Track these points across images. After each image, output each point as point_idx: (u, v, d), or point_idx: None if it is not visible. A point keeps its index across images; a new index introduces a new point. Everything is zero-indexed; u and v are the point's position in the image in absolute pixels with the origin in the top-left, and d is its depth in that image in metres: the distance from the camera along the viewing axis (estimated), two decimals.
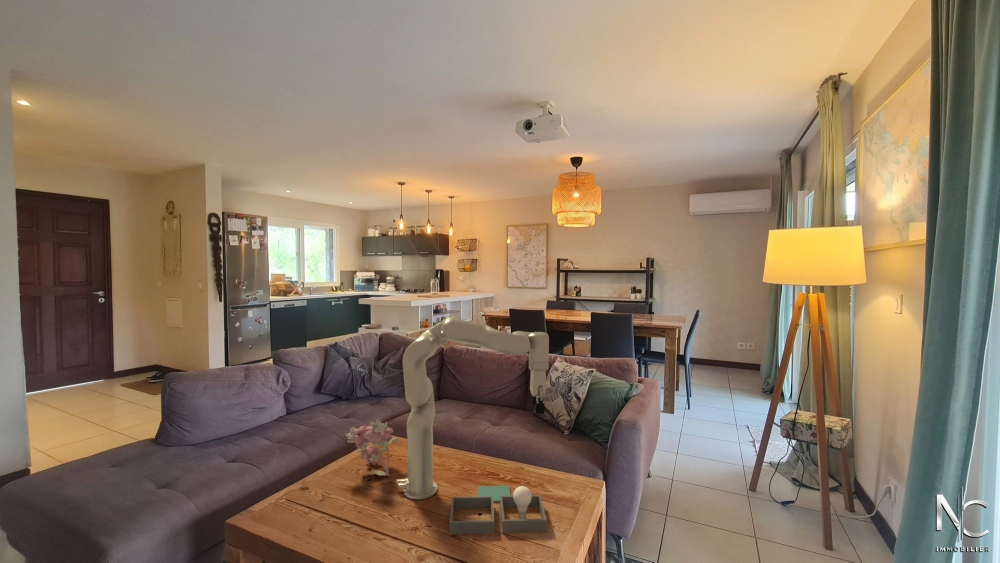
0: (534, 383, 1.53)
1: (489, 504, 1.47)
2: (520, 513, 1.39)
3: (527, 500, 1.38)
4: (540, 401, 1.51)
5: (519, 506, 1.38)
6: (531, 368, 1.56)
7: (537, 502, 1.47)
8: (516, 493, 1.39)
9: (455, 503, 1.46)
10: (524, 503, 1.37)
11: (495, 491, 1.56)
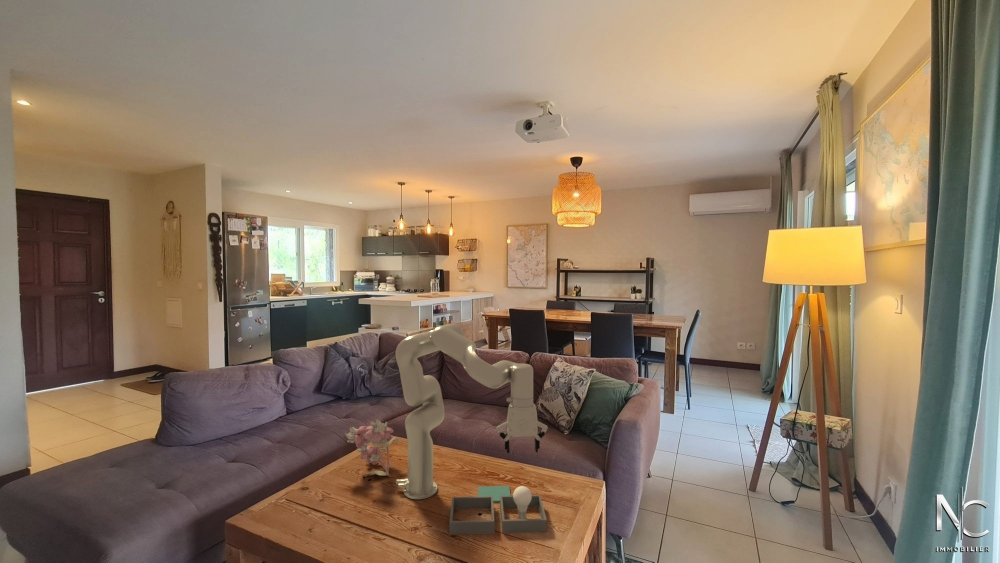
0: (536, 420, 1.37)
1: (489, 504, 1.47)
2: (520, 513, 1.39)
3: (527, 500, 1.38)
4: None
5: (519, 506, 1.38)
6: (529, 406, 1.36)
7: (537, 502, 1.47)
8: (516, 493, 1.39)
9: (455, 503, 1.46)
10: (524, 503, 1.37)
11: (495, 491, 1.56)
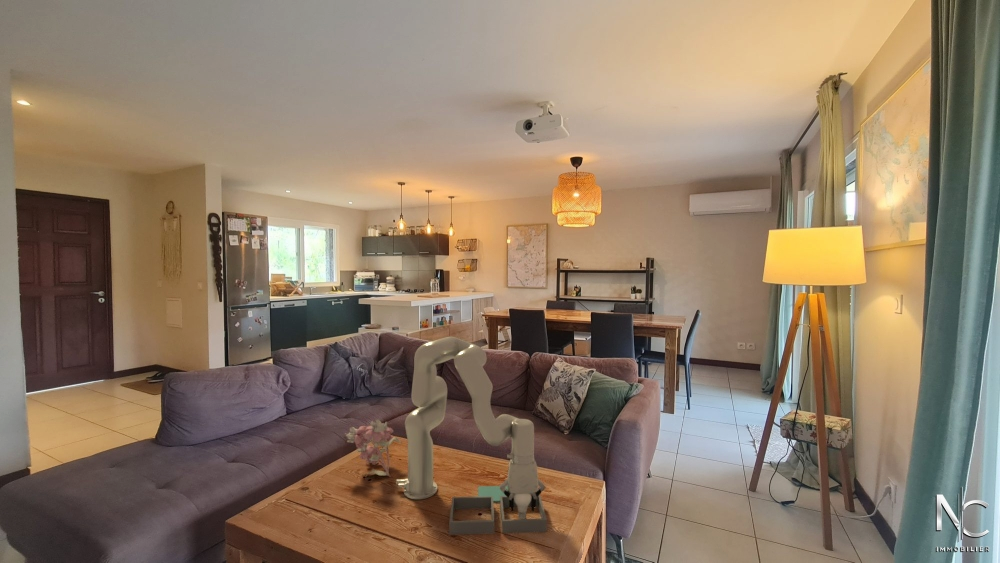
0: (537, 477, 1.38)
1: (489, 504, 1.47)
2: (520, 513, 1.39)
3: (527, 500, 1.38)
4: None
5: (519, 506, 1.38)
6: (530, 463, 1.37)
7: (537, 502, 1.47)
8: None
9: (455, 503, 1.46)
10: (524, 503, 1.37)
11: (495, 491, 1.56)
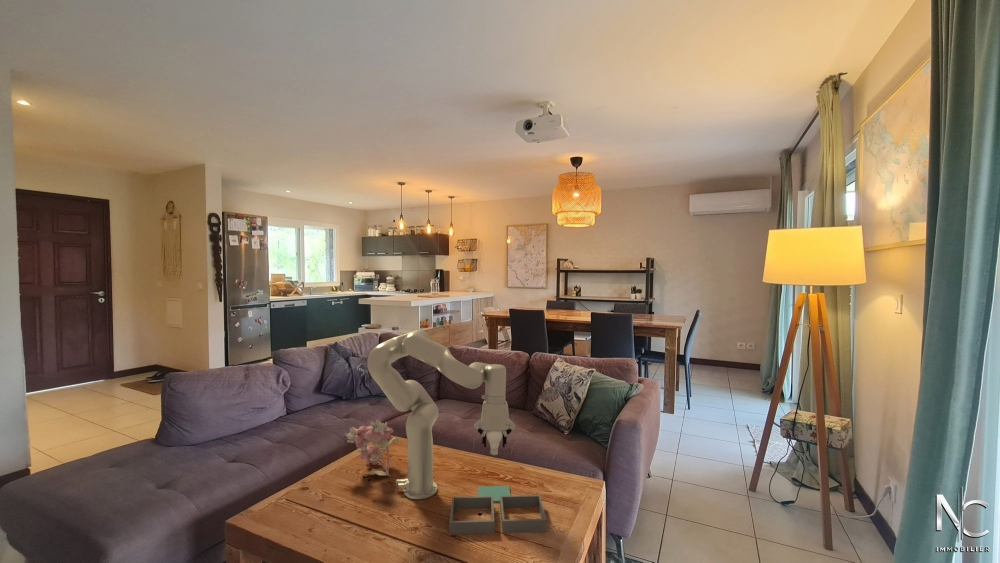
0: (507, 416, 1.51)
1: (489, 504, 1.47)
2: (492, 449, 1.53)
3: (498, 437, 1.51)
4: None
5: (491, 442, 1.52)
6: (501, 403, 1.50)
7: (537, 502, 1.47)
8: None
9: (455, 503, 1.46)
10: (495, 439, 1.51)
11: (495, 491, 1.56)
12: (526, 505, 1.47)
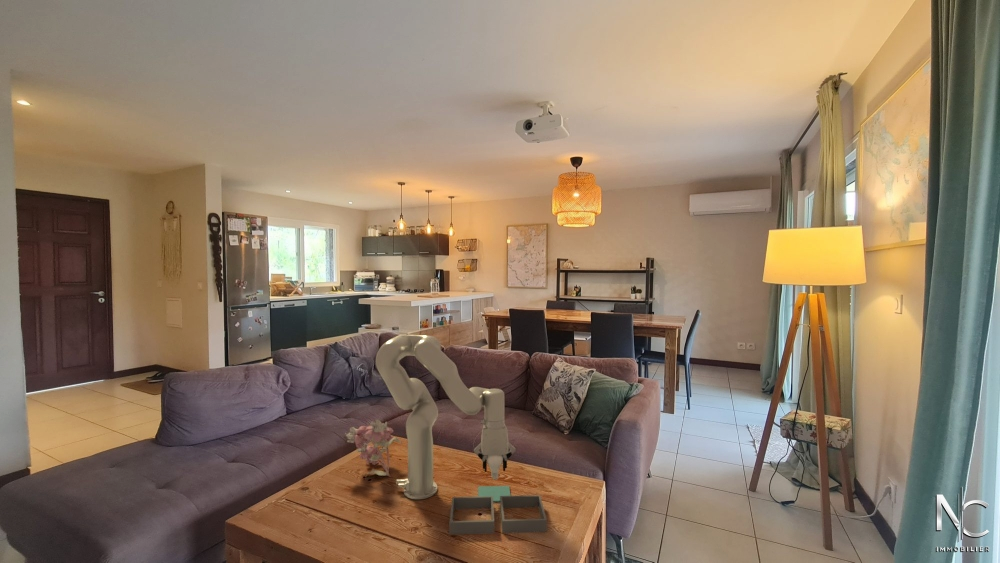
0: (507, 440, 1.52)
1: (489, 504, 1.47)
2: (493, 473, 1.54)
3: (498, 461, 1.52)
4: None
5: (491, 467, 1.53)
6: (500, 428, 1.51)
7: (537, 502, 1.47)
8: None
9: (455, 503, 1.46)
10: (496, 464, 1.52)
11: (495, 491, 1.56)
12: (526, 505, 1.47)
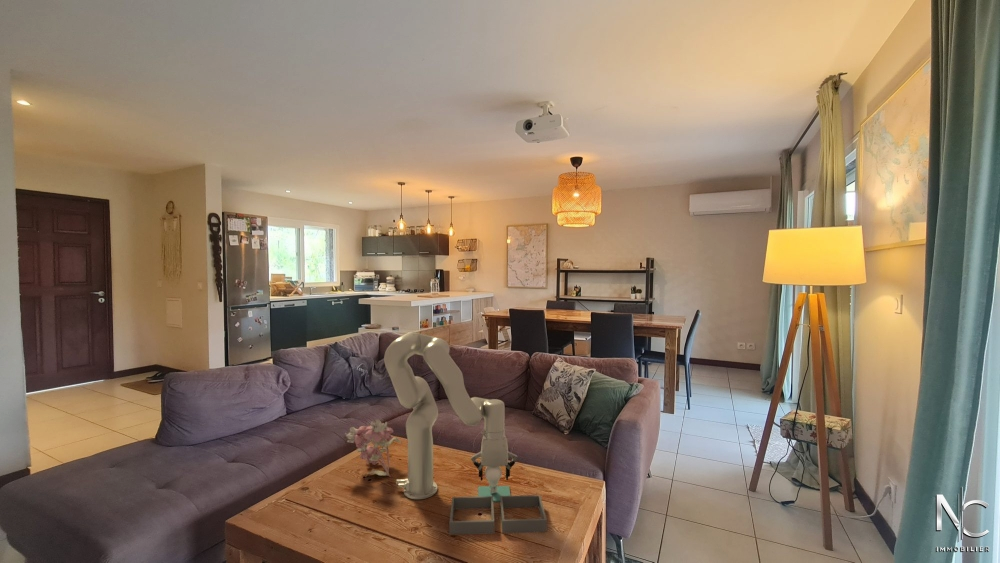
0: (507, 451, 1.52)
1: (489, 504, 1.47)
2: (491, 488, 1.54)
3: (497, 476, 1.52)
4: None
5: (490, 481, 1.53)
6: (500, 439, 1.51)
7: (537, 502, 1.47)
8: (487, 469, 1.53)
9: (455, 503, 1.46)
10: (494, 478, 1.52)
11: None
12: (526, 505, 1.47)
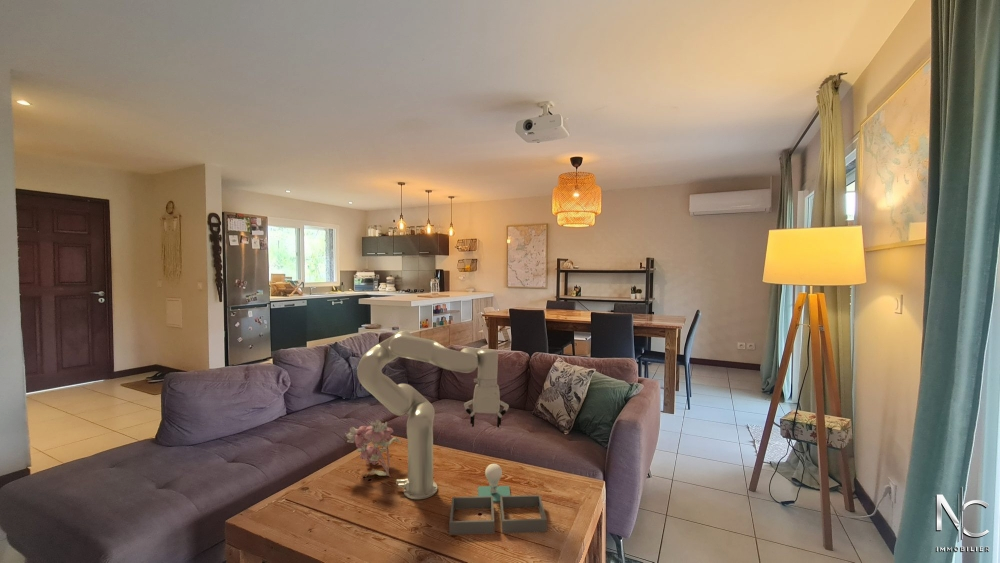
0: (498, 399, 1.56)
1: (489, 504, 1.47)
2: (491, 488, 1.54)
3: (497, 476, 1.52)
4: None
5: (490, 481, 1.53)
6: (492, 386, 1.55)
7: (537, 502, 1.47)
8: (488, 469, 1.53)
9: (455, 503, 1.46)
10: (494, 478, 1.52)
11: None
12: (526, 505, 1.47)
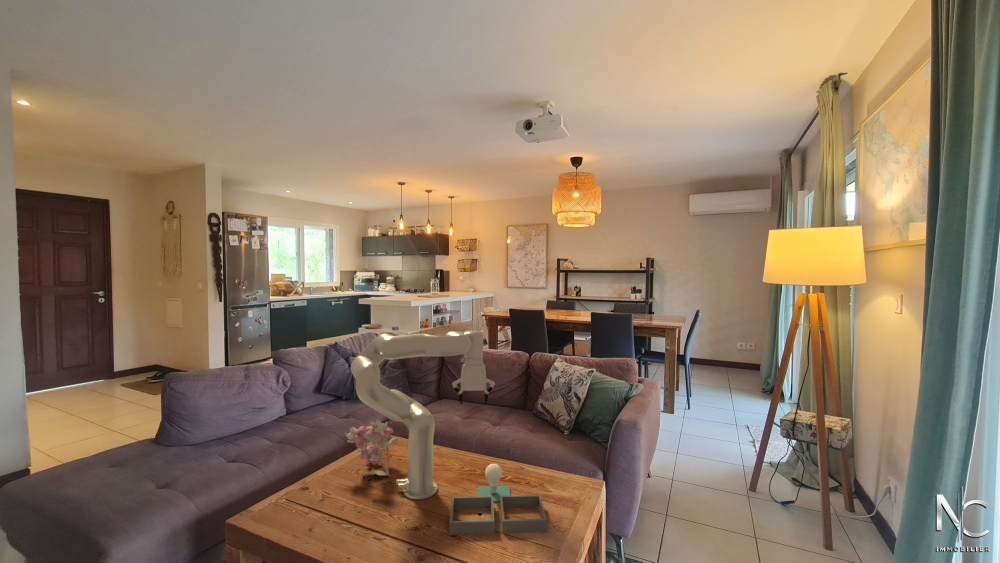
0: (485, 377, 1.65)
1: (489, 504, 1.47)
2: (491, 488, 1.54)
3: (497, 476, 1.52)
4: None
5: (490, 481, 1.53)
6: (478, 365, 1.64)
7: (537, 502, 1.47)
8: (488, 469, 1.53)
9: (455, 503, 1.46)
10: (494, 478, 1.52)
11: None
12: (526, 505, 1.47)
